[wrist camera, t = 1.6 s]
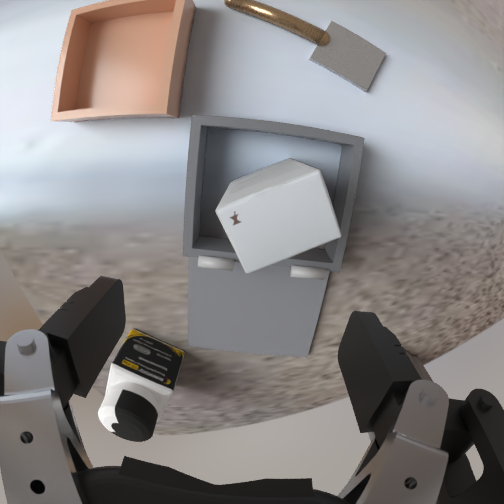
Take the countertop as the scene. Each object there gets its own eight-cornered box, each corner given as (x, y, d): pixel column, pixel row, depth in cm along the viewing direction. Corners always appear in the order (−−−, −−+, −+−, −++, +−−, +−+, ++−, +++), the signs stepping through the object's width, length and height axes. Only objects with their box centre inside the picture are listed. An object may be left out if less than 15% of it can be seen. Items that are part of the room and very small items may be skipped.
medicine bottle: (186, 350, 33) (163, 428, 22) (170, 384, 36) (149, 455, 25) (132, 326, 32) (92, 397, 21) (122, 362, 35) (89, 429, 24)
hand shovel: (213, 20, 21) (211, 14, 19) (238, -15, 19) (237, -22, 18) (364, 91, 23) (370, 89, 22) (383, 54, 21) (389, 50, 20)
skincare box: (248, 222, 28) (243, 277, 17) (230, 180, 26) (211, 208, 15) (308, 198, 27) (344, 238, 16) (291, 156, 26) (319, 165, 14)
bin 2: (351, 138, 25) (367, 137, 21) (306, 353, 33) (311, 378, 29) (200, 118, 24) (189, 114, 20) (189, 342, 33) (182, 367, 29)
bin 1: (195, 7, 20) (187, -11, 16) (178, 117, 24) (166, 113, 21) (90, 21, 20) (71, 10, 16) (73, 121, 24) (50, 121, 20)
